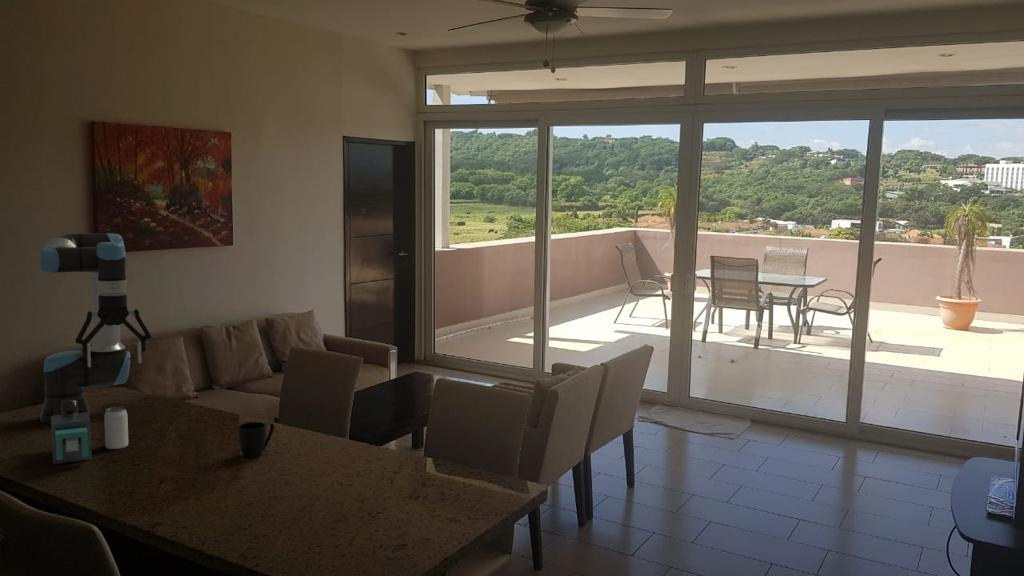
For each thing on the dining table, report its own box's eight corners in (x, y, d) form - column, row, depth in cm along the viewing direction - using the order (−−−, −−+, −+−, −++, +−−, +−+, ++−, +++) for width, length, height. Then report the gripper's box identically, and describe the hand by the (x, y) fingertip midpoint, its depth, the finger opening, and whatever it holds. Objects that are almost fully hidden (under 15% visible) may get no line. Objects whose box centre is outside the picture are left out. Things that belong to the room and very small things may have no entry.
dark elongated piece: (62, 427, 245) (61, 399, 244) (78, 425, 247) (77, 398, 246) (63, 452, 222) (62, 421, 221) (81, 450, 224) (80, 419, 223)
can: (121, 450, 243) (120, 412, 242) (101, 449, 243) (99, 411, 242) (132, 443, 250) (131, 406, 248) (112, 442, 250) (110, 406, 248)
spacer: (56, 456, 228) (55, 430, 227) (87, 452, 232) (86, 427, 231) (56, 460, 224) (55, 434, 223) (88, 456, 228) (87, 431, 227)
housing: (52, 454, 238) (51, 415, 236) (90, 449, 243) (88, 411, 241) (52, 464, 229) (51, 424, 228) (91, 459, 234) (90, 420, 233)
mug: (282, 452, 245) (281, 422, 244) (249, 462, 235) (248, 431, 234) (265, 446, 250) (265, 417, 248) (232, 456, 240) (232, 426, 239)
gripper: (64, 297, 224) (67, 370, 227) (159, 293, 237) (161, 362, 239) (64, 294, 231) (67, 365, 233) (156, 291, 243) (158, 358, 246)
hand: (115, 364), depth 236 cm, fingers open, 13 cm apart
